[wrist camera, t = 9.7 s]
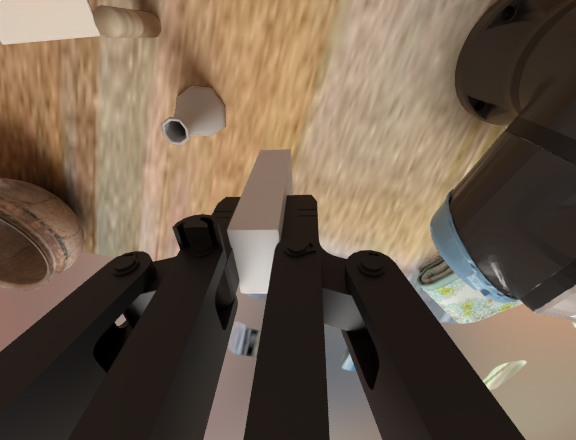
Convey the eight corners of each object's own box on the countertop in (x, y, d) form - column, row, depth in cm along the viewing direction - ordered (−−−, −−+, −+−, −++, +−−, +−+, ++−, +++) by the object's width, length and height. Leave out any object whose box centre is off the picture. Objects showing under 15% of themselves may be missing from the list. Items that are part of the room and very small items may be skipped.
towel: (557, 270, 53) (578, 290, 49) (452, 313, 62) (462, 333, 58) (523, 212, 46) (544, 230, 42) (410, 270, 56) (419, 290, 51)
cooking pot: (110, 266, 60) (69, 313, 49) (19, 246, 58) (-42, 291, 48) (91, 163, 46) (30, 199, 35) (-29, 133, 44) (-129, 162, 34)
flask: (233, 130, 41) (215, 154, 33) (190, 140, 42) (162, 166, 34) (215, 78, 37) (189, 91, 29) (169, 91, 38) (131, 107, 30)
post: (157, 10, 33) (113, 4, 26) (164, 36, 35) (124, 36, 27) (137, 12, 33) (88, 6, 26) (144, 38, 35) (100, 39, 27)
